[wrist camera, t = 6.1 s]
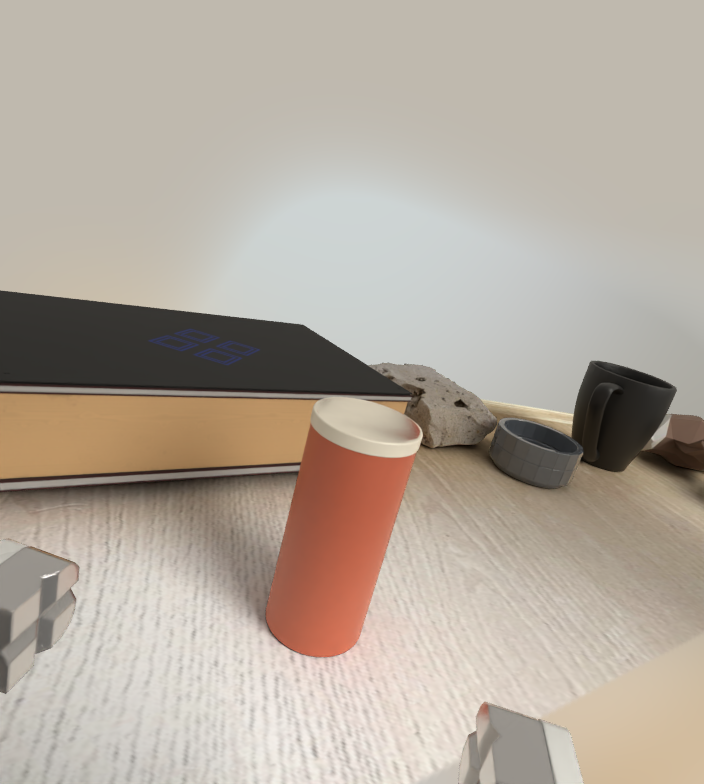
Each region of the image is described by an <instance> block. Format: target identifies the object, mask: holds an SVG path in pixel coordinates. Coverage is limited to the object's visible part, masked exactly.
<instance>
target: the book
mask: <svg viewBox="0 0 704 784" xmlns="http://www.w3.org/2000/svg"><path fill="white" fill-rule="evenodd" d="M410 394H412V393H411V392H409V391H408V390H406V389H404V388H403V387H401V386H400V385H398V384H396V383H395V382H393V381H392V380H390V379H389V378H387V377H385V376H384V375H382V374H381V373H379V372H377V371H376V370H374V369H373V368H371V367H369V366H368V365H366V364H364V363H363V362H361V361H360V360H358V359H357V358H355V357H353V356H352V355H350V354H349V353H347V352H345V351H344V350H342V349H341V348H339V347H337V346H336V345H334V344H333V343H331V342H329V341H328V340H326V339H325V338H323V337H322V336H320V335H318V334H317V333H315V332H314V331H312V330H310V329H309V328H307V327H306V326H304V325H300V324H291V323H283V322H274V321H265V320H256V319H247V318H238V317H230V316H221V315H211V314H202V313H194V312H185V311H176V310H167V309H159V308H150V307H141V306H132V305H122V304H113V303H106V302H97V301H88V300H79V299H69V298H61V297H52V296H44V295H35V294H26V293H17V292H8V291H0V492H7V491H22V490H37V489H52V488H67V487H81V486H96V485H111V484H126V483H141V482H156V481H170V480H185V479H200V478H215V477H230V476H245V475H260V474H274V473H289V472H299V469H300V465H301V461H302V456H303V452H304V448H305V444H306V440H307V436H308V431H309V427H310V423H311V420H310V418H311V413H312V409H313V406H314V404H315V403H316V402H317V401H319V400H321V399H324V398H330V397H348V398H356V399H361V400H366V401H370V402H374V403H377V404H381V405H384V406H386V407H389V408H391V409H394V410H396V411H398V412H400V413H402V414H404V412H405V409H406V406H407V402H411V398H412V397H413V396H412V395H410Z"/></svg>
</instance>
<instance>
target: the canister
mask: <svg viewBox="0 0 704 784" xmlns="http://www.w3.org/2000/svg"><path fill="white" fill-rule="evenodd" d="M310 420H311V423H310V427H309V431H308V436H307V440H306V444H305V448H304V452H303V456H302V461H301V465H300V469H299V473H298V477H297V482H296V486H295V490H294V494H293V498H292V502H291V507H290V511H289V515H288V519H287V523H286V527H285V532H284V536H283V540H282V544H281V548H280V553H279V557H278V561H277V565H276V569H275V573H274V578H273V582H272V586H271V590H270V594H269V598H268V603H267V607H266V620H267V624H268V626H269V628H270V630H271V632H272V633H273V635H274V636H275V637H276V638H277V639H278V640H279V641H280V642H281V643H283V644H284V645H285V646H287V647H288V648H290V649H292V650H294V651H296V652H299V653H301V654H305V655H309V656H314V657H330V656H336V655H339V654H342V653H344V652H346V651H348V650H349V649H350V648H351V647H353V646H354V645H355V643H356V642H357V640H358V639H359V636H360V633H361V630H362V627H363V624H364V620H365V617H366V614H367V611H368V608H369V604H370V601H371V598H372V595H373V591H374V588H375V585H376V582H377V578H378V575H379V572H380V569H381V565H382V562H383V559H384V556H385V553H386V549H387V546H388V543H389V540H390V536H391V533H392V530H393V527H394V523H395V520H396V517H397V514H398V511H399V507H400V504H401V501H402V498H403V494H404V491H405V488H406V485H407V481H408V478H409V475H410V472H411V469H412V465H413V462H414V459H415V456H416V452H417V451H418V449H419V447H420V444H421V441H422V437H423V432H422V430H421V428H420V427H419V425H418V424H417V423H415V422H414V421H413V420H412V419H410V418H409V417H407V416H406V415H404V414H402V413H400V412H398V411H396V410H394V409H391V408H389V407H386V406H384V405H381V404H377V403H374V402H370V401H366V400H361V399H356V398H348V397H330V398H324V399H321V400H319V401H317V402H316V403H315V404H314V406H313V409H312V413H311V418H310Z"/></svg>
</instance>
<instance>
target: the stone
mask: <svg viewBox="0 0 704 784" xmlns="http://www.w3.org/2000/svg"><path fill="white" fill-rule="evenodd" d="M369 367H371V368H373V369H374V370H376V371H377V372H379V373H381V374H382V375H384V376H385V377H387V378H389V379H390V380H392V381H393V382H395V383H396V384H398V385H400V386H401V387H403V388H404V389H406V390H408V391H409V392H411V393H412V394H410V395H412V396H413V397H412V398H411V402H407V406H406V409H405V412H404V415H406V416H407V417H409V418H410V419H412V420H413V421H414V422H415V423H417V424H418V425H419V427H420V428H421V430H422V432H423V437H422V441H421V443H422V444H423V445H426V446H428V447H430V448H435V447H437V446H441V447H443V446H447V445H456V444H462V445H473V444H476V443H478V442H480V441H481V440H482V439H484V438H485V436H486V435H487V434H489V433H491V432H492V431H493V430H494V429H495V427H496V425H497V418H496V417H495V416H494V415H493V414H492V413H491V412H490V411H489V410H488V408H487V407H486V406H485V405H484V404H483V403H482V401H481V400H480V399H479V398H478V397H477V396H476V395H474V394H473V393H472V392H469V391H467V390H465V389H464V388H462V387H460V386H458V385H457V384H456V383H455V382H452V381H451V380H450V379H448V378H445V377H444V376H443V375H441V374H439V373H437V372H436V370H435V369H432V368H430V367H426V366H423V365H414V364H413V365H412V364H404V365H396V364H391V363H382V364H378V365H369Z"/></svg>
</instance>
